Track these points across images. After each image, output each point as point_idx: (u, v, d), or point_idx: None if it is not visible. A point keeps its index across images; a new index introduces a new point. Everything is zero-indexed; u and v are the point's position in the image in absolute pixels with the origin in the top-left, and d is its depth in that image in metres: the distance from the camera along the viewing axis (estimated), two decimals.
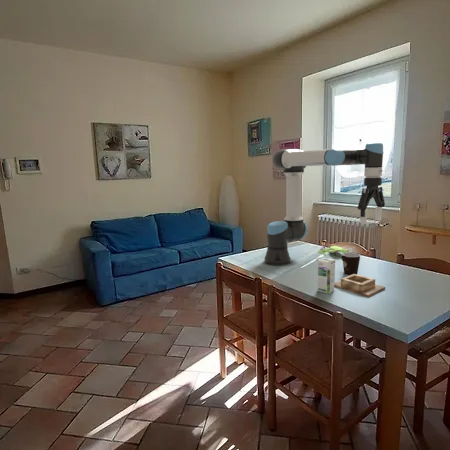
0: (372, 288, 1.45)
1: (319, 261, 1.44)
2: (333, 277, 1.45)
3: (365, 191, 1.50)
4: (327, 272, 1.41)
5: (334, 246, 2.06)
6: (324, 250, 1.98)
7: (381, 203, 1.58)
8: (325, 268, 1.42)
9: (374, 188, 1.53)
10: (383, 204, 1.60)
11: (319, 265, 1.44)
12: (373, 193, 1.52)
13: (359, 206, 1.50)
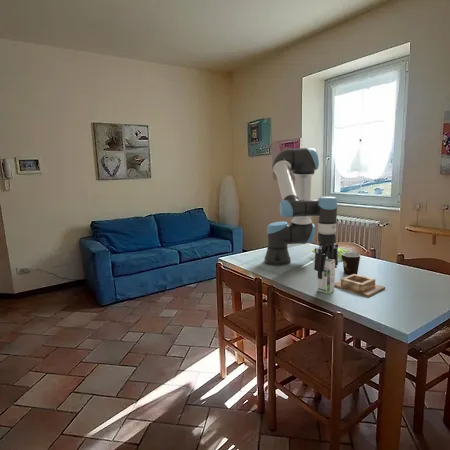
0: (372, 288, 1.45)
1: None
2: (333, 277, 1.44)
3: (318, 252, 1.39)
4: (327, 272, 1.41)
5: None
6: None
7: None
8: (325, 268, 1.42)
9: (328, 244, 1.42)
10: (336, 264, 1.47)
11: None
12: (327, 251, 1.41)
13: (316, 268, 1.41)
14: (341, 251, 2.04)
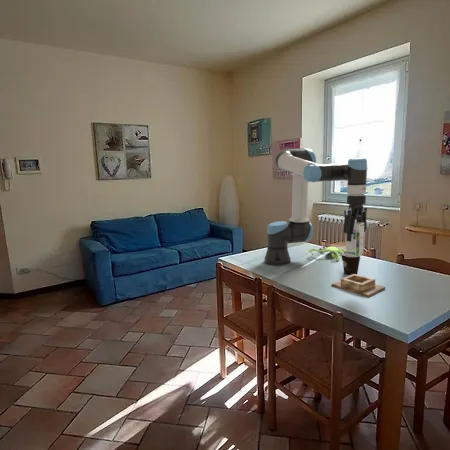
0: (372, 288, 1.45)
1: None
2: (362, 240, 1.44)
3: (347, 214, 1.39)
4: (357, 234, 1.41)
5: None
6: (315, 249, 2.00)
7: None
8: (354, 230, 1.41)
9: (358, 207, 1.41)
10: (364, 228, 1.46)
11: None
12: (357, 213, 1.40)
13: (345, 230, 1.40)
14: (340, 251, 2.03)
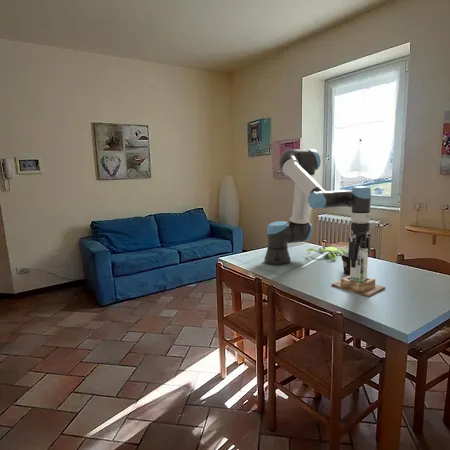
0: (372, 288, 1.45)
1: None
2: (366, 266, 1.46)
3: (352, 241, 1.41)
4: (361, 261, 1.43)
5: (330, 247, 2.04)
6: (313, 249, 2.01)
7: None
8: (358, 257, 1.44)
9: (361, 234, 1.44)
10: (368, 253, 1.49)
11: None
12: (361, 240, 1.43)
13: (349, 257, 1.43)
14: (338, 252, 2.02)
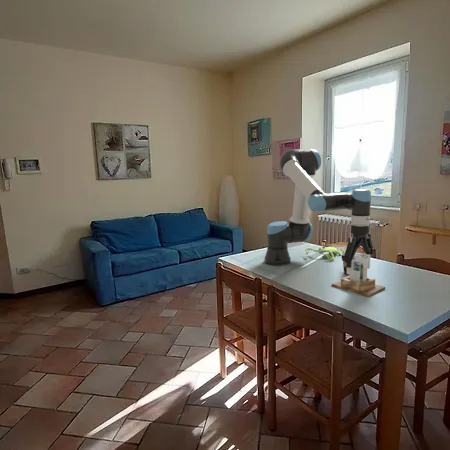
0: (372, 288, 1.45)
1: None
2: (366, 272, 1.47)
3: (351, 241, 1.41)
4: (360, 266, 1.44)
5: (329, 247, 2.04)
6: (312, 249, 2.02)
7: (369, 251, 1.49)
8: (358, 262, 1.45)
9: (361, 236, 1.44)
10: (372, 251, 1.51)
11: None
12: (360, 242, 1.43)
13: (345, 257, 1.41)
14: (337, 252, 2.02)
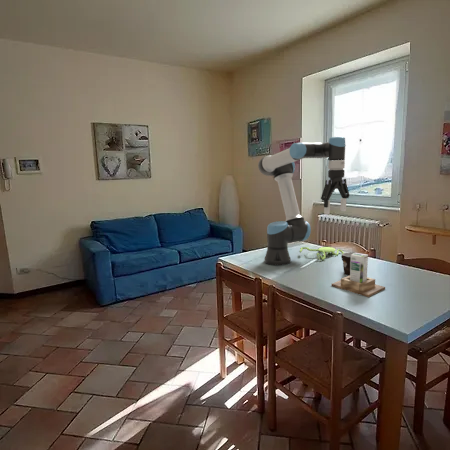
0: (372, 288, 1.45)
1: (352, 256, 1.46)
2: (366, 272, 1.47)
3: (328, 182, 1.57)
4: (360, 266, 1.44)
5: (325, 247, 2.04)
6: (307, 248, 2.05)
7: (345, 194, 1.66)
8: (358, 262, 1.45)
9: (337, 180, 1.60)
10: (348, 195, 1.67)
11: (352, 260, 1.47)
12: (336, 185, 1.59)
13: (322, 197, 1.57)
14: (333, 252, 2.01)
